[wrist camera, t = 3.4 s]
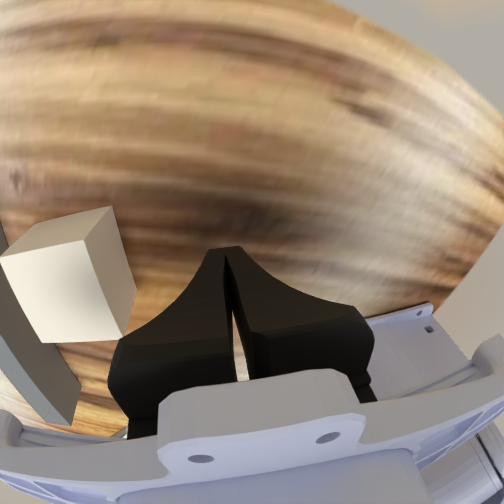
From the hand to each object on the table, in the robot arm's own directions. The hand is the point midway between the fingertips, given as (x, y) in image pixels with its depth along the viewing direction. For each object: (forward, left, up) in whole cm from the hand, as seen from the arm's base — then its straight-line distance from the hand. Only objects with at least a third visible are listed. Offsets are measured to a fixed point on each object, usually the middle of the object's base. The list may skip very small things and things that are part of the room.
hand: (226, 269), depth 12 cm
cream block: (+8, 0, -3) cm, 8 cm away
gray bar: (+14, +3, -3) cm, 15 cm away
